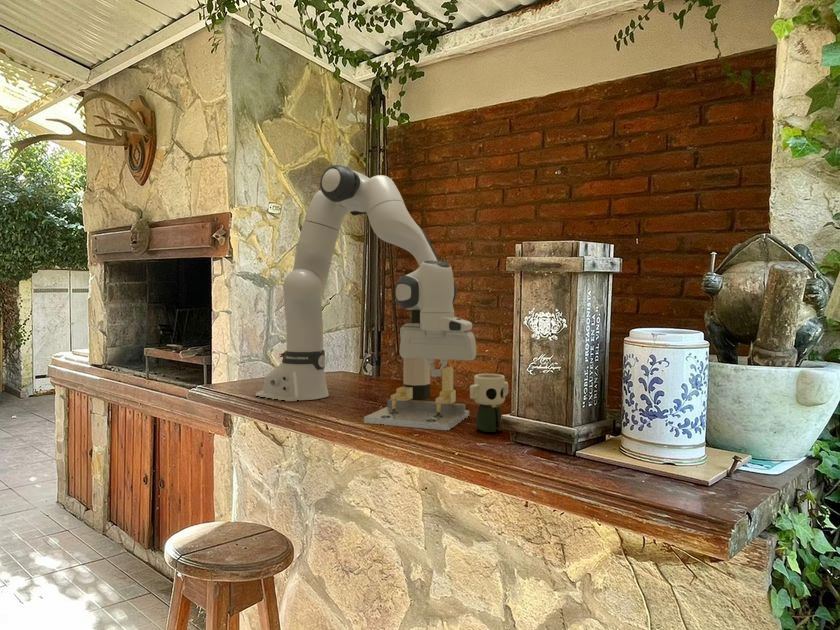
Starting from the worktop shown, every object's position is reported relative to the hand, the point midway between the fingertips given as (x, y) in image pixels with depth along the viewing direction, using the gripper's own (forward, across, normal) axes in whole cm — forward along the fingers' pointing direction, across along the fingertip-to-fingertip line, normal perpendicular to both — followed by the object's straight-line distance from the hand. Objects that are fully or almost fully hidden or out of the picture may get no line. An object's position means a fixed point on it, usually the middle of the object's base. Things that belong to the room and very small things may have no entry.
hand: (437, 376), depth 156 cm
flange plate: (+10, -3, -6) cm, 12 cm away
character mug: (+11, +17, -11) cm, 23 cm away
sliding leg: (+8, +3, -3) cm, 9 cm away
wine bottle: (+10, -15, +24) cm, 30 cm away
